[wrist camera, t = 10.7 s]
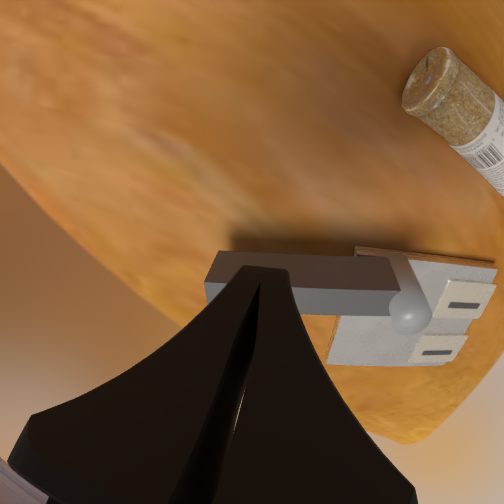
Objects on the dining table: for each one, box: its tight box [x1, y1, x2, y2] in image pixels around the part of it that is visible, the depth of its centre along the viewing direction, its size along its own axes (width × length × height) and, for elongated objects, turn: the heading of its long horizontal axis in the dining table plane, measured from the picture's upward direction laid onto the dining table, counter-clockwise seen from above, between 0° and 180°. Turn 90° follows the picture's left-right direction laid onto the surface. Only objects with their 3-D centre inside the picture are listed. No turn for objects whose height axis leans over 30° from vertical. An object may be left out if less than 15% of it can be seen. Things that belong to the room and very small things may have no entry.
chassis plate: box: [326, 246, 498, 366], centre depth 20 cm, size 12×11×1 cm
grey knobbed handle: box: [204, 251, 432, 335], centre depth 16 cm, size 2×12×5 cm, turn 92°
